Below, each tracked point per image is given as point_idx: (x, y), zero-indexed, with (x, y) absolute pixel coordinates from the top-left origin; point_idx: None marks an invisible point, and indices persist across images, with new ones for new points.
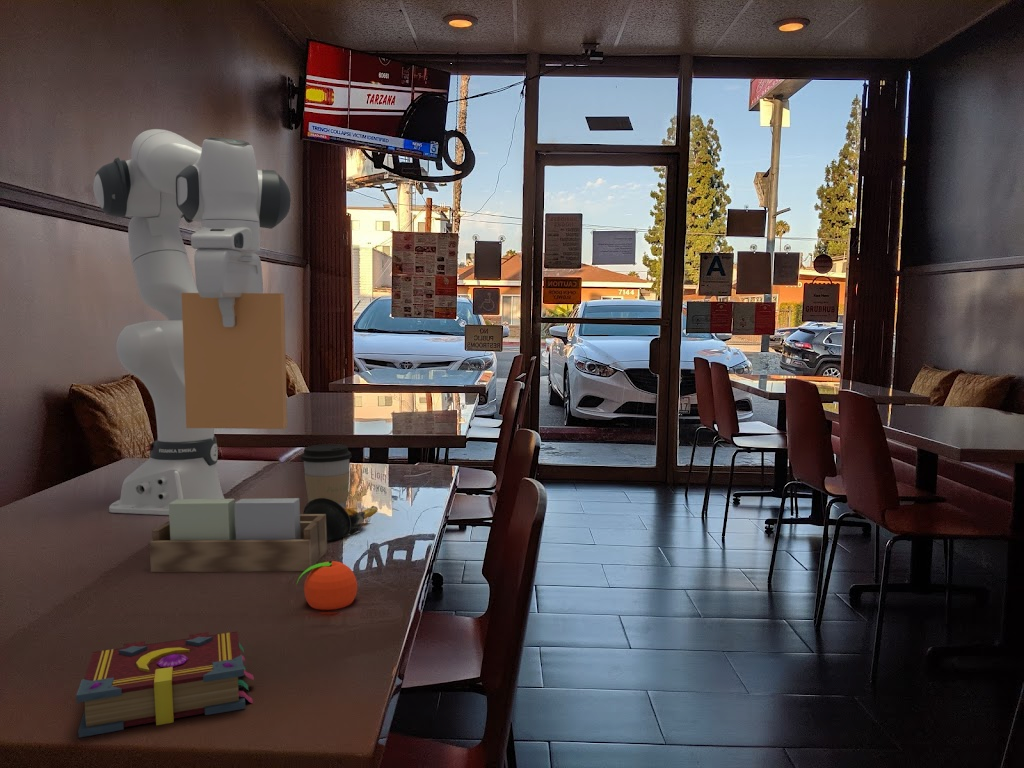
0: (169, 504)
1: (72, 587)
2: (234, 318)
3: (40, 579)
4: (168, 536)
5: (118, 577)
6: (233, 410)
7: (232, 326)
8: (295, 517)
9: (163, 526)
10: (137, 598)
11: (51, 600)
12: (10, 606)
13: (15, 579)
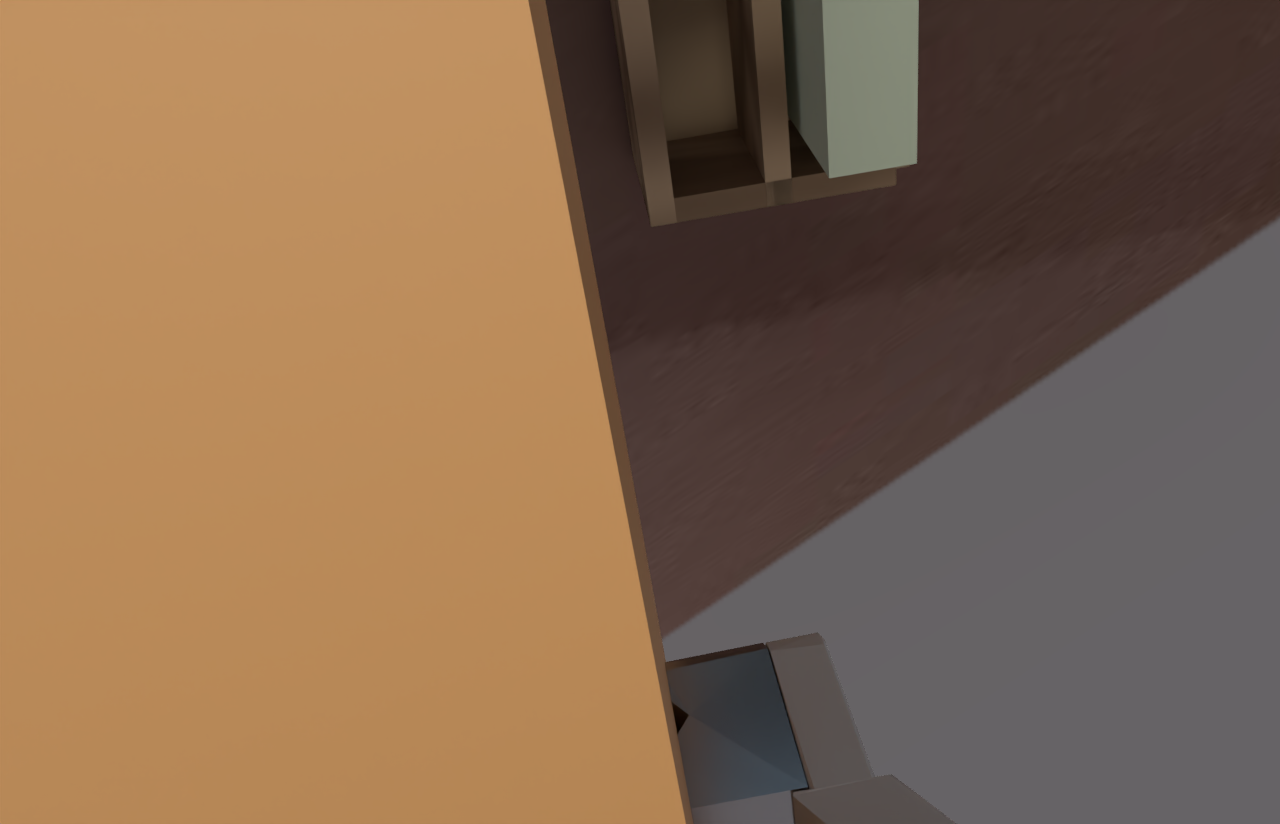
0: (915, 158)
1: (918, 315)
2: (822, 735)
3: (848, 440)
4: (801, 157)
5: (826, 247)
6: (579, 188)
7: (813, 638)
8: None
9: (832, 180)
10: (1031, 56)
11: (1026, 295)
12: (1063, 361)
13: (848, 496)
